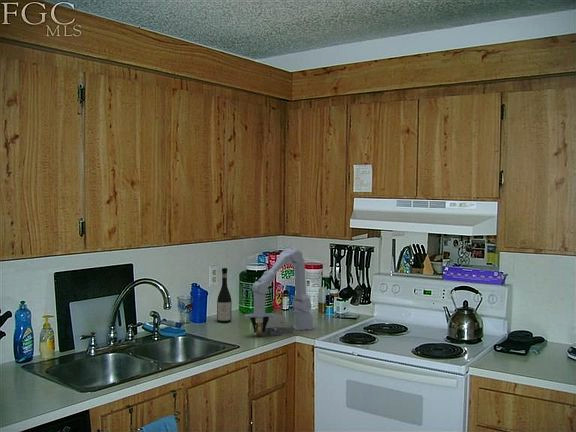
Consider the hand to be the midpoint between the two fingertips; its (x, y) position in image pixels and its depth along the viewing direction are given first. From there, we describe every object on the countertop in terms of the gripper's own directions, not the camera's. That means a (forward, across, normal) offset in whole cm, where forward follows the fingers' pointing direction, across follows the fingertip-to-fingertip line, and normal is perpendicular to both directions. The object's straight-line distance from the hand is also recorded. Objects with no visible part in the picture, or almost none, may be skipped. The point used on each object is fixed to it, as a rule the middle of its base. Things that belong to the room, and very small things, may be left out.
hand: (259, 332), depth 281 cm
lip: (+2, -8, -2) cm, 9 cm away
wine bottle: (+2, +16, -32) cm, 36 cm away
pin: (+2, 0, 0) cm, 2 cm away
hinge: (+2, -8, -10) cm, 13 cm away
